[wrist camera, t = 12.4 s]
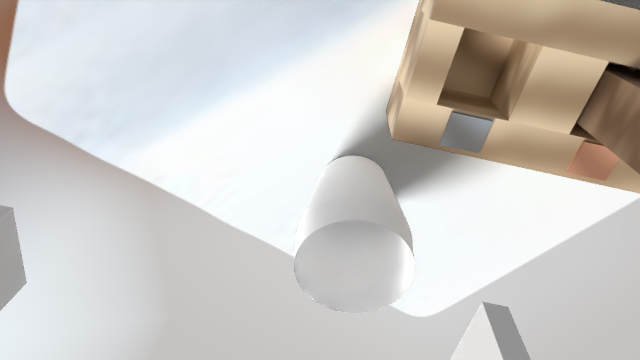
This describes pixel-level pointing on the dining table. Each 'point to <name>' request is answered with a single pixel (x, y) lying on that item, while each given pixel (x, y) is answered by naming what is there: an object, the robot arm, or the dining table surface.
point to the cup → (353, 239)
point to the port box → (514, 82)
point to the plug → (615, 113)
